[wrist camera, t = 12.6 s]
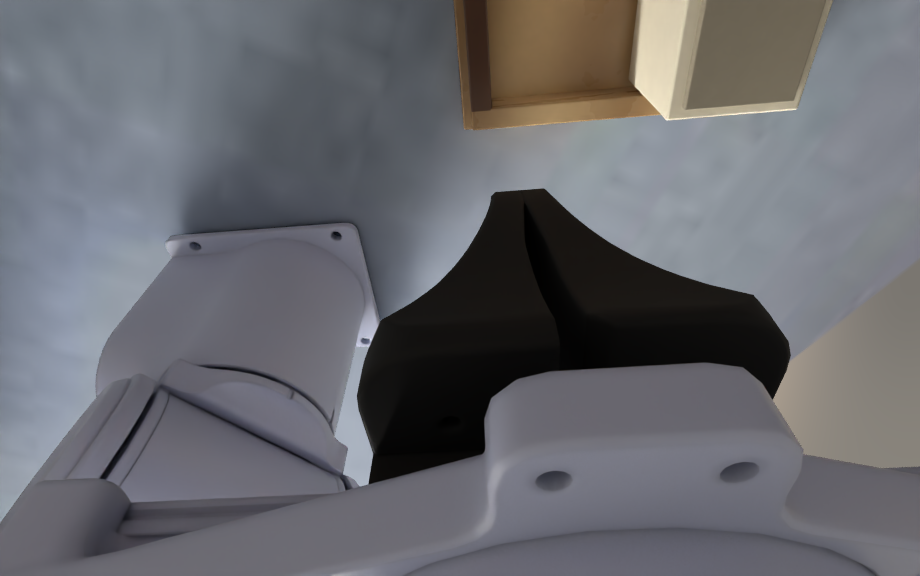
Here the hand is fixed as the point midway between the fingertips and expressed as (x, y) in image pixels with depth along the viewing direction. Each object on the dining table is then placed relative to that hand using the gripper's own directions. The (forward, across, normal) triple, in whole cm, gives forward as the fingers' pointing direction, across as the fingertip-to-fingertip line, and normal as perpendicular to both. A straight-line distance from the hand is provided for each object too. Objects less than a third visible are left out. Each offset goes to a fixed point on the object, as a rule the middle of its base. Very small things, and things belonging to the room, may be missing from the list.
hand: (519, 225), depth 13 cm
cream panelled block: (+10, -7, -3) cm, 12 cm away
